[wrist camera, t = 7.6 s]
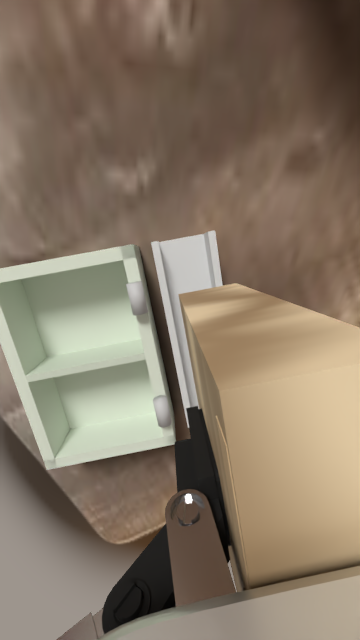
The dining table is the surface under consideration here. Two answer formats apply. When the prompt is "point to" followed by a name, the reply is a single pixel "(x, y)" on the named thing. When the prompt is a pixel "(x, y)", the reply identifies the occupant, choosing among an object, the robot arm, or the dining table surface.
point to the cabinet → (101, 346)
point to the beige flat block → (279, 430)
